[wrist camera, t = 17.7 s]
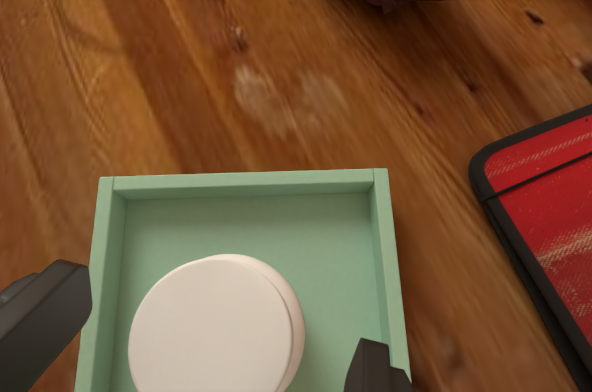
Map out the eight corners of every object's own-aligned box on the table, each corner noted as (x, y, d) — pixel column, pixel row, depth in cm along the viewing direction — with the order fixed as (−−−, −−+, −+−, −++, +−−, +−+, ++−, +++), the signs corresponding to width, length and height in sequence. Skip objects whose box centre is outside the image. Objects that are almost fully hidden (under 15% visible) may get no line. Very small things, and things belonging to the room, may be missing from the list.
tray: (89, 497, 18) (57, 527, 16) (119, 190, 23) (98, 176, 20) (408, 482, 19) (426, 508, 16) (377, 182, 23) (387, 167, 21)
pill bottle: (185, 380, 19) (84, 448, 10) (200, 267, 21) (124, 233, 12) (297, 387, 19) (304, 461, 10) (303, 273, 21) (313, 244, 12)
